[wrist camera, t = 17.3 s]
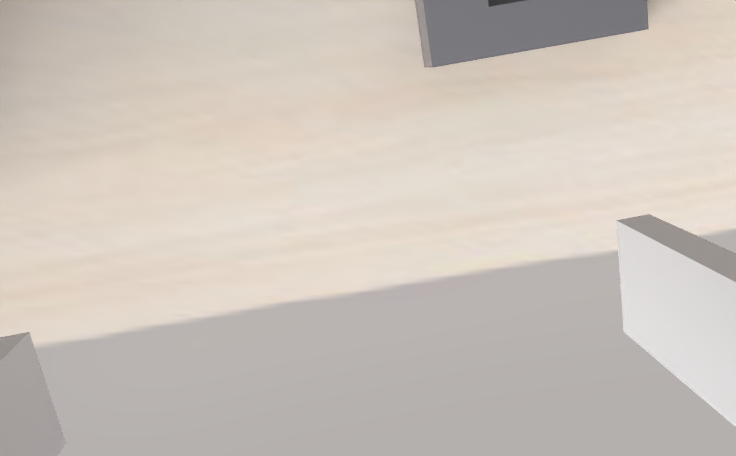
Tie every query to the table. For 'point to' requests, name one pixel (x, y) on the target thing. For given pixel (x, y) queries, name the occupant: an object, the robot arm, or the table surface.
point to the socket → (518, 25)
